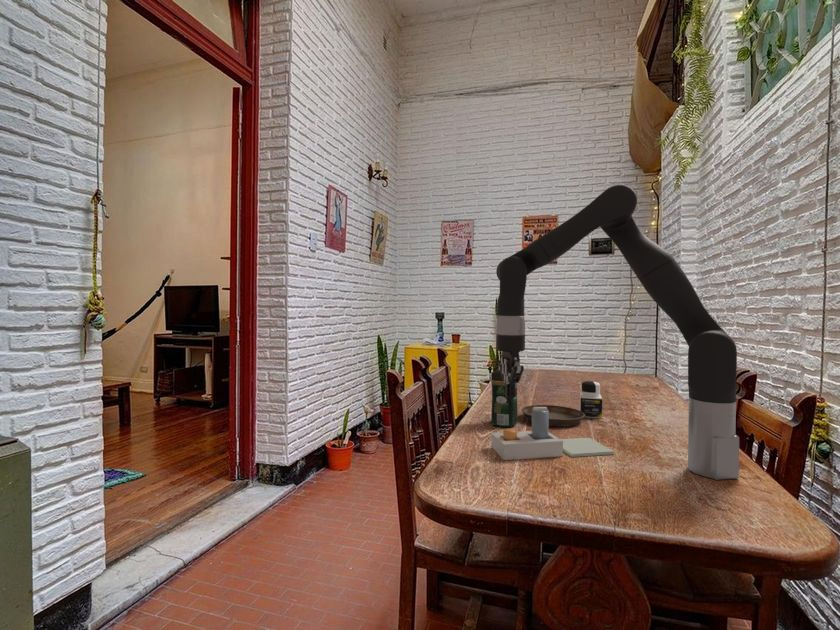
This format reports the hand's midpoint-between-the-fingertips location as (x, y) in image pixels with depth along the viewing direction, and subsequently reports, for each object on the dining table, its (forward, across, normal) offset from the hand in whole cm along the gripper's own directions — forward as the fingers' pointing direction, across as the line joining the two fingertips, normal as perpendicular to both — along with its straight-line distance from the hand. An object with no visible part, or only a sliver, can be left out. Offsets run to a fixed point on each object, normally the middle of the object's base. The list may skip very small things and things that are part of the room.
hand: (510, 397), depth 117 cm
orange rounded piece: (+12, 0, 0) cm, 12 cm away
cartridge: (+15, 0, -8) cm, 17 cm away
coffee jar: (+15, +27, -8) cm, 32 cm away
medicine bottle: (+15, +32, -42) cm, 55 cm away
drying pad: (+15, 0, -20) cm, 25 cm away
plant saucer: (+15, +29, -26) cm, 42 cm away
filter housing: (+15, 0, -4) cm, 15 cm away
